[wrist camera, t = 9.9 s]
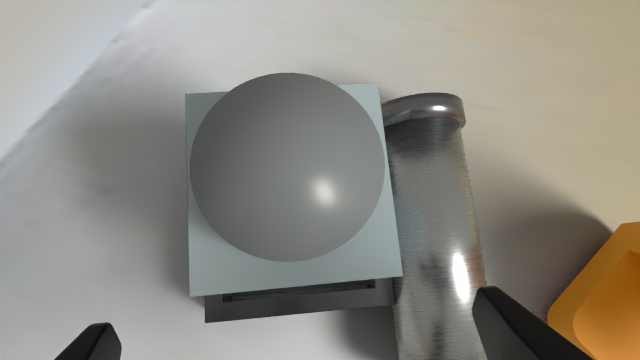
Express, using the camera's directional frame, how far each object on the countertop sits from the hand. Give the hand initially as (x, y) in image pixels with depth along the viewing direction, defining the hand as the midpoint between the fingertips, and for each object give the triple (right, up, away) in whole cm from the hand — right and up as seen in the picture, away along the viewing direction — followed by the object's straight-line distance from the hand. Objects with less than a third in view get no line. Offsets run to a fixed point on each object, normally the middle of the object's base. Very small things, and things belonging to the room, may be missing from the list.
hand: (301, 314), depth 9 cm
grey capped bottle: (-1, +1, +11) cm, 11 cm away
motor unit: (+2, 0, +11) cm, 11 cm away
